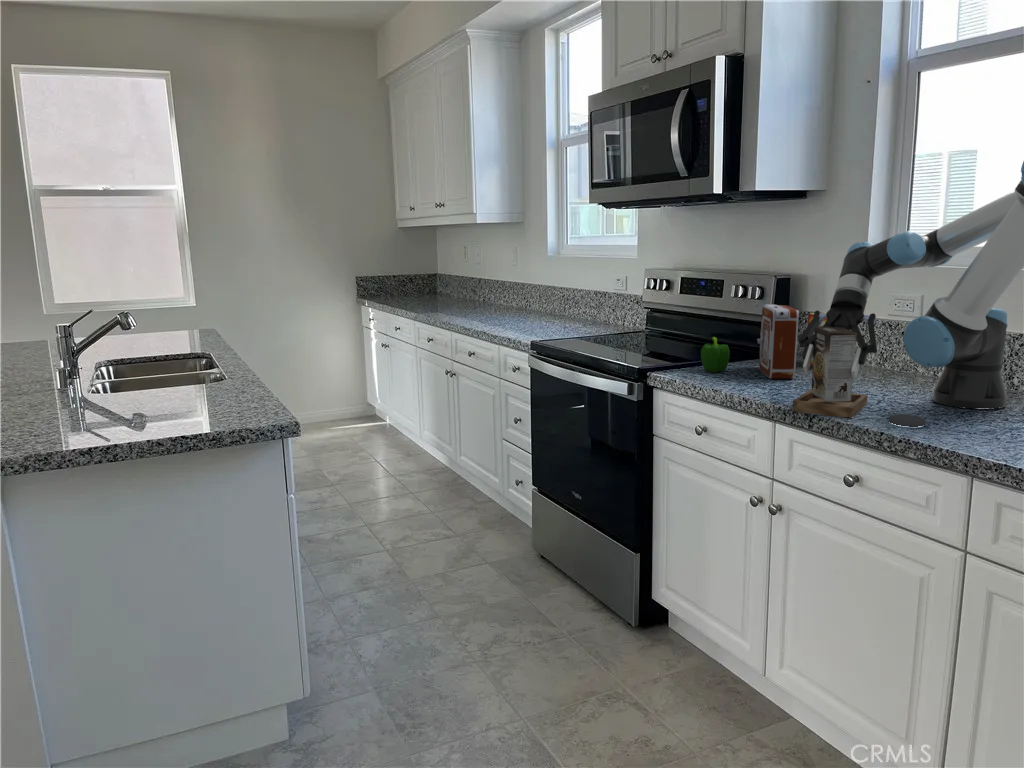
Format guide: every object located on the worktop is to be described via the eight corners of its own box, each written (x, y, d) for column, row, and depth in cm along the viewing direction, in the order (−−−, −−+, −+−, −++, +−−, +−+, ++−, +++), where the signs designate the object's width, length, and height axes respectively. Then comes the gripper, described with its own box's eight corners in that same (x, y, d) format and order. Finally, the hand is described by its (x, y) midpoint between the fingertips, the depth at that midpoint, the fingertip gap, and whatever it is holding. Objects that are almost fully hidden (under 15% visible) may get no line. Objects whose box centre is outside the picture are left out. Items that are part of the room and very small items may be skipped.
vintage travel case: (782, 367, 228) (785, 301, 224) (799, 380, 209) (804, 308, 205) (750, 367, 229) (754, 301, 225) (765, 380, 210) (769, 308, 206)
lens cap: (929, 424, 163) (929, 417, 163) (918, 431, 158) (919, 424, 158) (895, 419, 168) (895, 412, 168) (883, 425, 163) (884, 419, 163)
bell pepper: (727, 374, 219) (728, 340, 217) (698, 373, 222) (699, 339, 220) (730, 369, 227) (731, 336, 225) (702, 367, 230) (703, 335, 228)
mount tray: (866, 405, 180) (867, 395, 179) (851, 418, 168) (852, 407, 168) (810, 398, 187) (811, 388, 187) (792, 411, 176) (792, 400, 175)
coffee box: (809, 392, 182) (813, 326, 179) (836, 392, 182) (841, 326, 178) (823, 401, 173) (828, 332, 170) (852, 401, 173) (857, 331, 169)
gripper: (902, 309, 179) (883, 386, 170) (805, 305, 192) (782, 376, 183) (900, 289, 173) (880, 367, 164) (800, 286, 187) (776, 358, 178)
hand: (829, 372), depth 174 cm, fingers closed on coffee box, 10 cm apart
